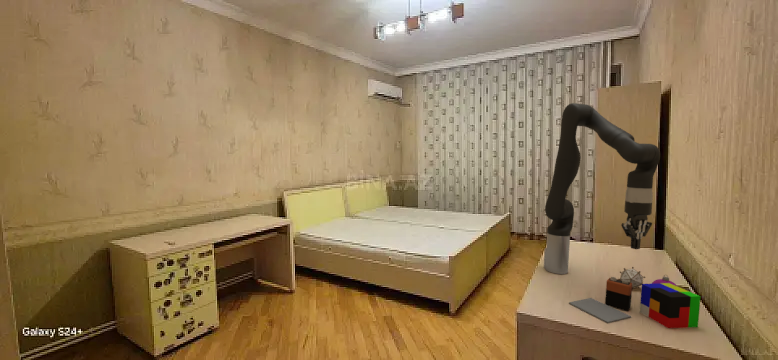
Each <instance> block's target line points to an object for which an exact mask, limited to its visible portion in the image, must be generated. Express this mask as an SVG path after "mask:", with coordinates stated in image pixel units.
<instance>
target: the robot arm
mask: <svg viewBox="0 0 778 360" xmlns="http://www.w3.org/2000/svg"><path fill="white" fill-rule="evenodd" d="M560 122H561V124H560V135H559V137H560V138H559V144H558V150H557V153H556V157H555V158H556V159H555V163H554V171H553V175H552V179H551V180H552V181H551V185H550V189H549V192H548V196H547V199H546V201H545V204H544V205H545V206H544V212H545V215H546V217H547V218H548V219H549V220H551V223H550V224H549V225H548V226H547V231H546V246H545V248H544V253H543V268H544V269H545V271H546V272H549V273H552V274H557V275H564V274H565V275H567V274H568V273H569V264H570V263H569V260H570V240H571V231H572V229H573V225H574V217H575V210H574V209H575V208H574V205H573V203H572V201H570V200H569V199H567V193H568V191H569V189H570V187H571V185H573V182H574V181H575V179H576V177H577V175H578V173H579V169H580V163H581V159H582V158H581V152H580V148H579V145H578V143H577V142H578V141H577V131H578V127H584V128H588V129H590V130H592V131H594V132H595V133H596V134H597V136H598V138H599V139H600V140H601V141H602V143H604V144H606V145H608V147H611V148H612V149H613V150H615V151H616V152H617V153H618V155H620V157H621V158H622V159H623V160H624V161H626V162H628V163H630V164H634V165H636V166H635V169H634V170H631V171H629V172H628V174H627V177H626V178H627V181H626V190H625V197H624V213H625V214H627V216H626V221H625V223H624V222H623V223H621V225H620V226H621V228H622V229H623V231H624V233H625V236H626V237H629V238H630V248H631V249H633V250H640V249H641V243H642V242H641V240H642V239H643V238H645V237H646V236H647V234H648V232H649V231H650V229H651V227H652V225H653V223H652V222H650V221H649V216H651V215H652V210H653V199H654V195H653V193H654V192H653V184H654V175H655V173H656V170H657V169H658V166H659V163H660V159H661V151H660V148H659V147H658V146H657V145H656V144H653V143H640V142H637V141H635V137H634V136H633V135H632V134H631V133H629V132H627V131H626V130H624V129H623V128H621V127H619V126H617V125H616V124H613V123H612V122H611V121H609V120H608V119H607V118H605V117H604V116H603V115H602V114H601V113H599V112H598V111H597V110H596V109H595V108H594V107H592V106H591V105H589V104H585V103H576V102H572V103H569V104H567V105H565V108H564V109H563V112H562V115H561V121H560Z"/></svg>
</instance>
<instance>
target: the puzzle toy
mask: <svg viewBox="0 0 778 360" xmlns="http://www.w3.org/2000/svg"><path fill="white" fill-rule="evenodd" d="M677 286H678V285H677ZM677 286H675V285H672V284H670V283H656V284H652V283H643V284H642V285H641V291H640V302H639V303H640V304H639V313H640V314H641V315H644V316H645V317H646V318H647V317H648V318H649V319H650V320H653V321H654V322H656V323H659V324H660V325H661V326H664V327H665V328H666V329H684V328H685V329H686V328H688V329H689V328H699V327H698V326H699V317H700V307H701V297H702V296H700V295H698V294H696V293H693V292H691V291H689V290H686V289H684V288H681V287H680V286H678V287H677Z"/></svg>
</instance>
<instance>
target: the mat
mask: <svg viewBox="0 0 778 360" xmlns="http://www.w3.org/2000/svg"><path fill="white" fill-rule="evenodd" d="M568 304H569V305H570V306H572V307H574V308H576V309H578V310H581V311H583V312H585V313H586V314H588V315H590V316H592V317H594V318H596V319H598V320H599V321H602V322H604V323H606V324H611V323H616V322H620V321H623V320H627V319H631V318H632V316H631V315H629V314H628V313H625V312H623V311H622V310H620V309H618V308H615V307H611V306H608V305H606V304H605V303H603V302H601V301H599V300H597V299H595V298H592V297H588V298H581V299H579V300H573V301H569V302H568Z"/></svg>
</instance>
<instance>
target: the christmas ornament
mask: <svg viewBox="0 0 778 360" xmlns="http://www.w3.org/2000/svg"><path fill="white" fill-rule="evenodd" d="M656 283H670V284H672V285H675V286H677V287H679V286H678V285H677V284H676V283H675V282H674V281H671V280H670V277H669V276H666V274H664V275H663V276H662V278H657V279H655V280H653V281H652V283H651V284H656Z"/></svg>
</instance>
